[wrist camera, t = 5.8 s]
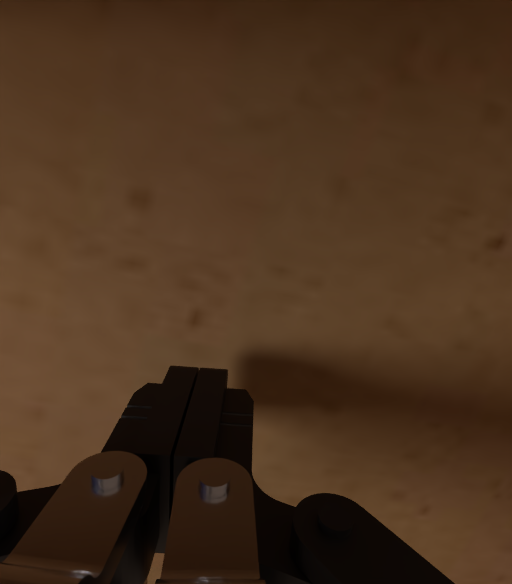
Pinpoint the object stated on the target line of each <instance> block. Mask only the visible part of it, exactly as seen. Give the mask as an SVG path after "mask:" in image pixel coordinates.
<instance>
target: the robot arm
mask: <svg viewBox="0 0 512 584" xmlns="http://www.w3.org/2000/svg"><path fill="white" fill-rule="evenodd" d="M227 378H228V370H227V369H213V368H200V370H199V368H197V367H183V366H170V368H169V370H168V372H167V374H166V376H165V379H164V381H163V383H162V384H157V383H147V384H146V385H144V386H143V387H142V388H140V389H139V390H137V391H136V392H135V393H134V394H133V396H132V398H131V399H130V401H129V403H128V405H127V408H125V410H124V412H123V414H122V415H121V418H120V419H119V421H118V423H117V424H116V426H115V428H114V430H113V432H112V433H111V435H110V437H109V439H108V441H107V442H106V444H105V446H104V448H103V450H102V451H101V453H98V454H95V455H93V456H90V457H88V458H86V459H84V460H83V461H81V462H80V463H78V464H77V465H76V466H75V467H74V468H73V469H72V470H71V472H70V473H69V474H68V476H67V477H66V478H65V480H64V481H63V482H62V484H59V485H55V486H50V487H45V488H39V489H33V490H27V491H21V492H17V487H16V482H15V479H14V478H13V476H11V475H10V474H9V473H7V472H5V471H1V470H0V584H147V577H148V574H149V571H150V568H151V564H152V560H153V557H154V553H165V554H164V560H163V566H162V572H161V578H160V579H157V580H156V582H155V584H455V583H453V582H452V581H451V580H450V579H449V578H447V577H446V576H445V575H444V574H442V573H441V572H440V571H439V570H438V569H436V568H435V567H434V566H433V565H432V564H430V563H429V562H428V561H427V560H425V559H424V558H423V557H422V556H421V555H419V554H418V553H417V552H416V551H415V550H413V549H412V548H411V547H410V546H409V545H407V544H406V543H405V542H404V541H402V540H401V539H400V538H399V537H398V536H396V535H395V534H394V533H393V532H392V531H390V530H389V529H388V528H387V527H385V526H384V525H383V524H382V523H381V522H379V521H378V520H377V519H376V518H375V517H373V516H372V515H371V514H370V513H368V512H367V511H366V510H365V509H364V508H362V507H361V506H360V505H358V504H357V503H356V502H354V501H352V500H350V499H348V498H346V497H343V496H340V495H336V494H330V493H320V494H314V495H311V496H308V497H306V498H305V499H303V500H302V501H301V502H300V503H299V504H298V505H297V506H296V507H294V506H291V505H288V504H285V503H282V502H280V501H277V500H275V499H273V498H271V497H270V496H268V495H267V494H265V493H264V492H263V491H262V490H261V489H260V488H259V487H258V485H257V484H256V483H255V481H254V479H253V476H252V439H253V405H254V401H253V399H252V398H251V396H250V395H249V394H248V392H247V391H246V390H243V389H229V388H227Z"/></svg>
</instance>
